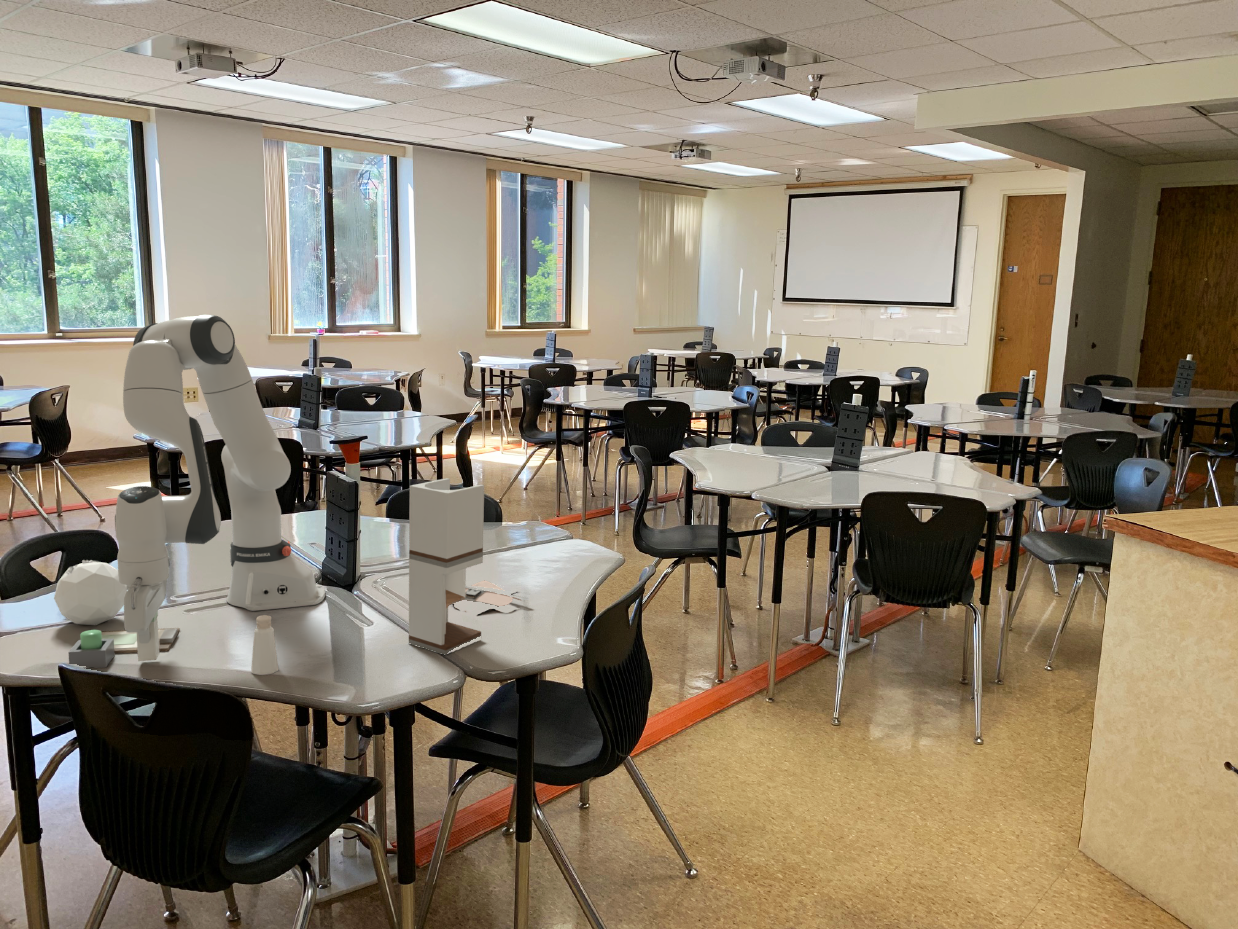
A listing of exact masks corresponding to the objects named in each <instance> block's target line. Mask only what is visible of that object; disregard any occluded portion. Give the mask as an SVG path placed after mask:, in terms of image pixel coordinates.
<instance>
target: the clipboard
mask: <svg viewBox="0 0 1238 929" xmlns="http://www.w3.org/2000/svg"><path fill="white" fill-rule="evenodd" d="M180 629H181V627H168V628H167V627H166V628H165V627H164V628H158V639H159V652H169V651H170V649H171V647H172V645H173V644H174V641H175V640H176V637H177V636H178V635H179V632H180ZM100 631H101V630H100ZM101 635H102V639H114V652H115V654H133V653H135V654H136V653H138V649H137V632H131V633H128V632H126V630H125V629H123V630H122V629H120V630H102V631H101Z"/></svg>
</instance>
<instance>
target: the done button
mask: <svg viewBox="0 0 1238 929" xmlns="http://www.w3.org/2000/svg"><path fill="white" fill-rule="evenodd" d="M79 636H80V637H79V638H80V640H81V650H85V649H101V648H102V635H101V630H100V629H91V630H85V631H81V633H80V634H79Z"/></svg>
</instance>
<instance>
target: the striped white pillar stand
mask: <svg viewBox="0 0 1238 929" xmlns="http://www.w3.org/2000/svg"><path fill="white" fill-rule="evenodd" d="M450 488H451V478H441V479H435V480H433V481H426V482H422V483H418V484H417V483H416V484H412V485H409V507H408V508H409V510H408V511H409V518H408V520H409V521H408V523H409V525H408V526H409V530H408V531H409V532H408V534H409V536H408V537H409V538H408V539H409V540H408V542H409V544H408V557H409V558H408V559H409V560H408V564H409V565H408V567H409V568H408V644H409V643H411V644H412V645H411V646H413V645H417V646H420V647H424V648H427V649H429V650H433V651H436V652H438V653H442V654H445V655H446V654H447V653H448V652H449V651H451V650H453V649H454V648H456V647H459V646H460V645H462V644H464V643H467V642H470V641H471V640H473V639H476V638H477V637H480V636H481V637H482V631H480V630H477V629H474V628H470V627H466V626H462V625H460V624H456V623H453V622H451V621H450V622H449V607H450V606H452V604H454V603H456V602H459V601H462V600H464V599H465V589H466V586H467V585H466V584H467V583H466V582H467V580H466V575H467V574H466V573H467V568H471V567H473V566H477V565H481V564H483V562H484V559H483V558H484V557H483V556H484V510H485V509H484V507H485V485H484V484H478V485H474V486H470V487H464V488H460V489H458V488H457V489H450ZM429 650H428V651H429ZM438 653H437V654H438ZM446 656H447V655H446Z"/></svg>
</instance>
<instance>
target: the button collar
mask: <svg viewBox="0 0 1238 929" xmlns="http://www.w3.org/2000/svg"><path fill="white" fill-rule="evenodd" d="M115 654H116V653H115V652H114V639H102V648H101V649H85V650H81V639H78V640H77V641H76V642H75V643H74V645H73V646H72V647H71V649H70V650H69V651H68V665H69V664H77V665H79V666H86V667H95V668H94V669H96V668H97V669H99V668H100V669H101V668H107V667H108V665H109V664H110V662H111V661H112V660H113V658H114V656H115Z"/></svg>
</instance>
